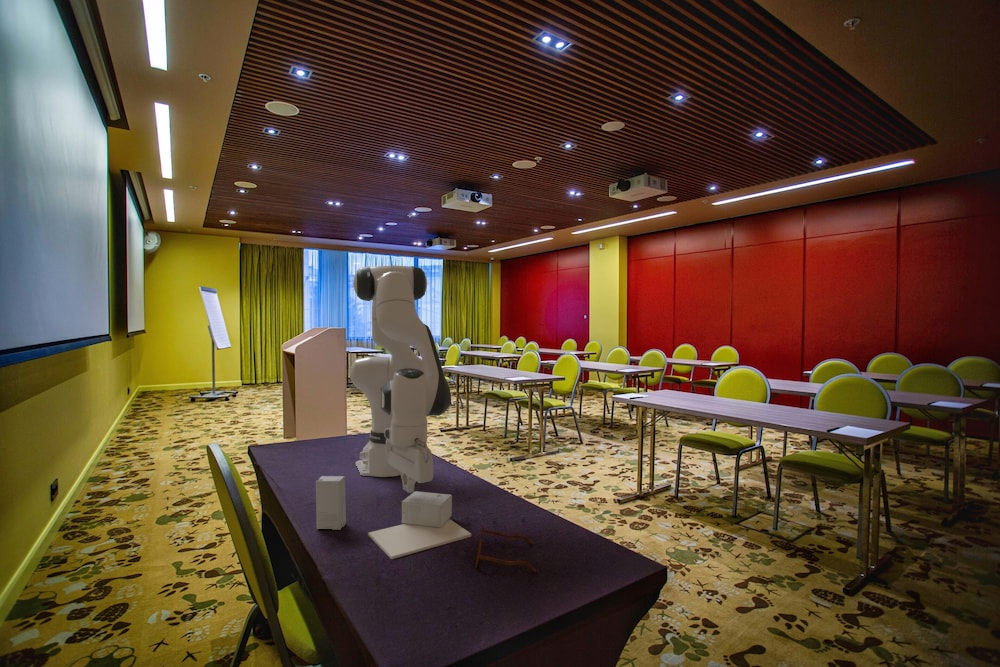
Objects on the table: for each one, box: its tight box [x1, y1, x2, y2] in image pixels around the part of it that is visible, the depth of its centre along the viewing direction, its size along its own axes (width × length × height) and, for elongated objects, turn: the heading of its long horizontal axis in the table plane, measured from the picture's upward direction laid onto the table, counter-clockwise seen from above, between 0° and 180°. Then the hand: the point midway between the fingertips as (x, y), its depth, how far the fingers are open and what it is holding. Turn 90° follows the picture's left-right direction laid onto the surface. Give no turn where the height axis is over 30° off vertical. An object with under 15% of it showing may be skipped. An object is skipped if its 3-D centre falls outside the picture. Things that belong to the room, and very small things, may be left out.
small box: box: [401, 490, 453, 528], centre depth 120 cm, size 8×6×10 cm
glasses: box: [474, 525, 537, 572], centre depth 103 cm, size 13×13×5 cm
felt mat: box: [367, 518, 472, 560], centre depth 112 cm, size 14×20×1 cm
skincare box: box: [315, 475, 347, 531], centre depth 116 cm, size 6×4×12 cm
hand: (408, 490), depth 117 cm, fingers closed
